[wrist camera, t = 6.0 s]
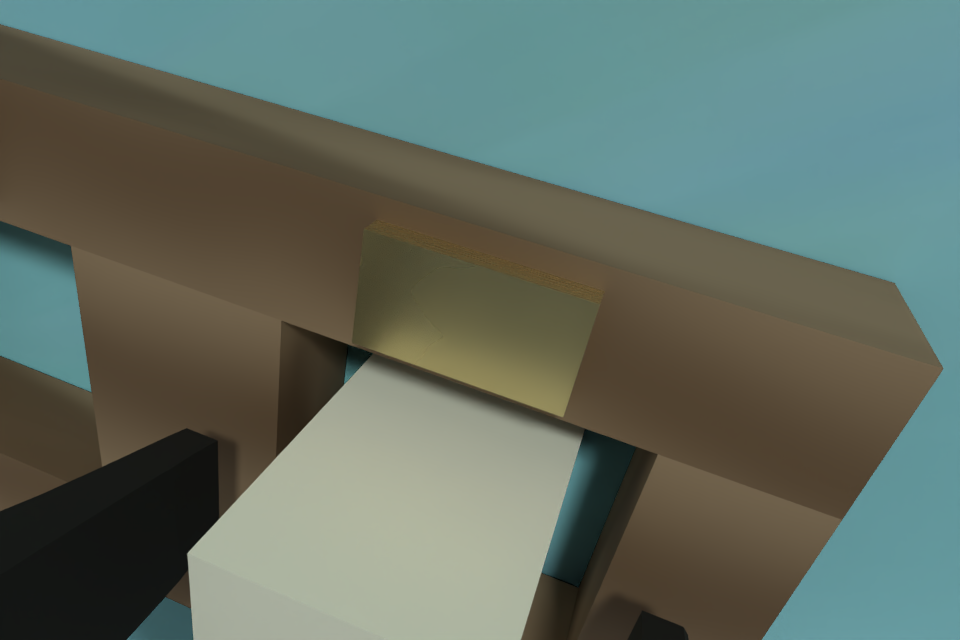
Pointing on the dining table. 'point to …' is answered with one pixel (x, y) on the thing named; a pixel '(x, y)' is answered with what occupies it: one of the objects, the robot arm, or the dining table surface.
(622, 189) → the dining table surface
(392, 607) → the plug
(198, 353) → the socket board
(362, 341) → the brass tag
